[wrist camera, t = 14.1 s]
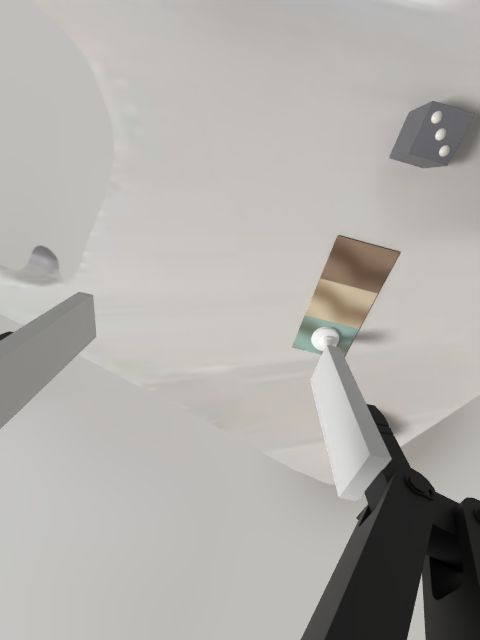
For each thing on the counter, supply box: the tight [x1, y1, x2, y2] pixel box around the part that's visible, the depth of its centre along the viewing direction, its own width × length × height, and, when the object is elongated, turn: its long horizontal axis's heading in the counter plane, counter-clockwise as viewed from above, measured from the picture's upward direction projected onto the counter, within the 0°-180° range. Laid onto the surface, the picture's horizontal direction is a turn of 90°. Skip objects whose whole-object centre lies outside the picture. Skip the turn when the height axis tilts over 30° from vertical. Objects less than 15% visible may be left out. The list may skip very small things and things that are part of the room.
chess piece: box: [311, 327, 339, 351], centre depth 43 cm, size 5×5×10 cm
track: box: [292, 236, 399, 356], centre depth 45 cm, size 21×10×1 cm, turn 166°
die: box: [389, 101, 475, 168], centre depth 32 cm, size 5×5×5 cm
